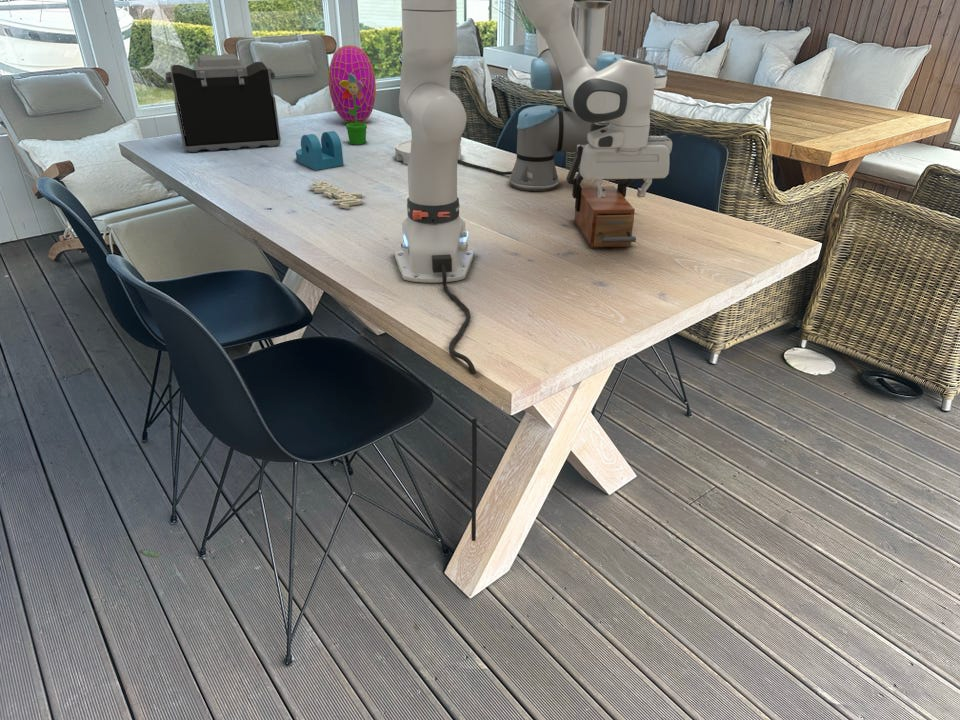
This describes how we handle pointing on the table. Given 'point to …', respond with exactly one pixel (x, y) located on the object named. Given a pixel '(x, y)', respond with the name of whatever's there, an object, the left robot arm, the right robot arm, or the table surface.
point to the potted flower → (354, 129)
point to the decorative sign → (337, 194)
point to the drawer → (614, 230)
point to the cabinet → (599, 210)
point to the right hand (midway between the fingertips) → (597, 209)
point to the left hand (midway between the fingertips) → (621, 197)
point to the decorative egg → (361, 68)
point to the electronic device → (225, 104)
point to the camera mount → (320, 151)
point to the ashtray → (408, 151)
